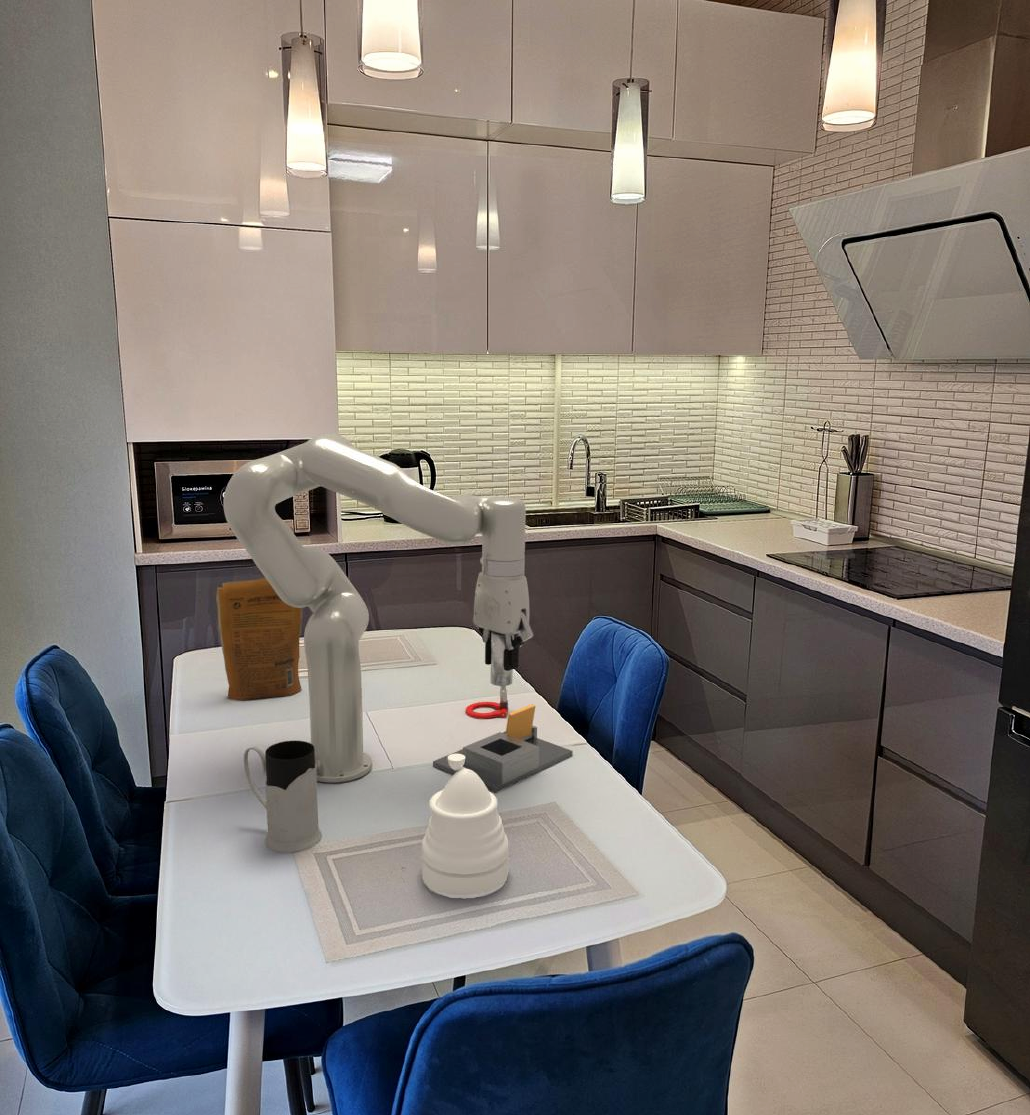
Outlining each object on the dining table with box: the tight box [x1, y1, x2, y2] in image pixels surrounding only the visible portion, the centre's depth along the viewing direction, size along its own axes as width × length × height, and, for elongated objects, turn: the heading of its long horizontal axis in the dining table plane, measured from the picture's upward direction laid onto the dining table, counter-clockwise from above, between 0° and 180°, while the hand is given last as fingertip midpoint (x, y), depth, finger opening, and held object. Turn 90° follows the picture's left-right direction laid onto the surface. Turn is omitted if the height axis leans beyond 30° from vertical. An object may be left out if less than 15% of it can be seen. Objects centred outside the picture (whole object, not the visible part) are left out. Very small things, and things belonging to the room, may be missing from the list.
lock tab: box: [505, 703, 536, 741], centre depth 177 cm, size 8×1×8 cm, turn 138°
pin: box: [490, 631, 514, 687], centre depth 163 cm, size 4×4×11 cm
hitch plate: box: [432, 724, 573, 794], centre depth 173 cm, size 22×16×5 cm
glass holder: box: [243, 740, 323, 854], centre depth 144 cm, size 9×14×15 cm, turn 61°
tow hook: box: [465, 686, 509, 720], centre depth 197 cm, size 8×13×9 cm
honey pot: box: [421, 753, 510, 895], centre depth 132 cm, size 13×13×18 cm
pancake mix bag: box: [215, 577, 303, 702], centre depth 203 cm, size 7×19×28 cm, turn 110°
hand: (501, 665), depth 164 cm, fingers closed on pin, 4 cm apart
